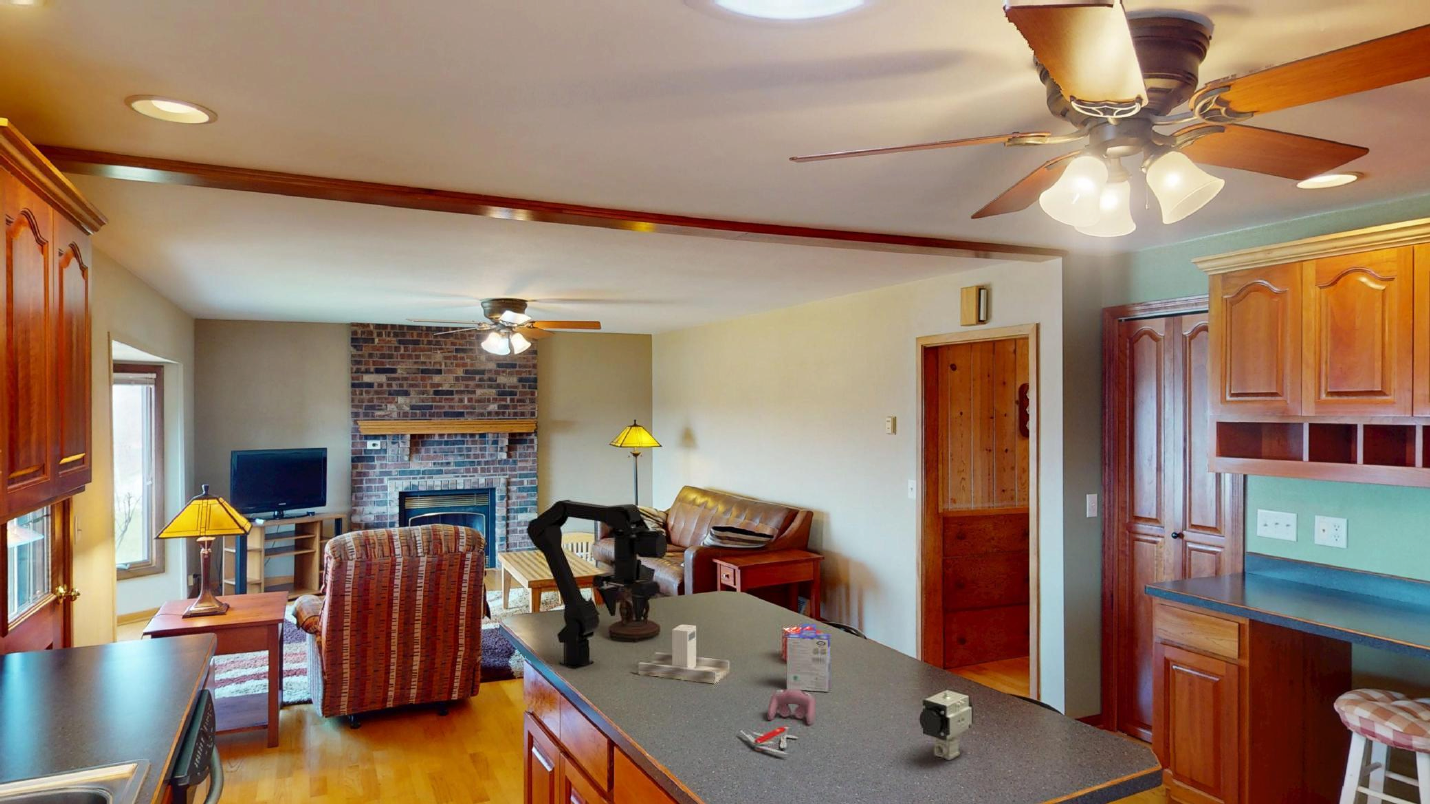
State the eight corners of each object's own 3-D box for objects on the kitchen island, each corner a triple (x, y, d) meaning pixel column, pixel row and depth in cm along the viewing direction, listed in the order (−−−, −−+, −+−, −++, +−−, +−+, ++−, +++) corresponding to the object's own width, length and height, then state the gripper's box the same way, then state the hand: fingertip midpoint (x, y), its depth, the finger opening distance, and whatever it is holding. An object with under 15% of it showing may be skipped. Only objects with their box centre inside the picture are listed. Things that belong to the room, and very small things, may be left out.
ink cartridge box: (830, 685, 197) (830, 623, 197) (829, 693, 192) (829, 629, 192) (788, 682, 199) (788, 621, 199) (786, 690, 194) (786, 627, 194)
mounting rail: (638, 674, 205) (638, 663, 205) (655, 663, 214) (655, 652, 214) (714, 684, 197) (714, 672, 198) (729, 672, 207) (729, 660, 207)
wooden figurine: (632, 626, 250) (632, 559, 250) (670, 634, 241) (670, 565, 242) (597, 637, 238) (597, 567, 238) (637, 646, 229) (637, 573, 230)
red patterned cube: (809, 655, 221) (809, 625, 221) (823, 664, 214) (823, 633, 214) (781, 658, 218) (781, 628, 219) (794, 667, 211) (794, 636, 211)
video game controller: (815, 727, 175) (818, 693, 178) (812, 725, 171) (815, 689, 174) (769, 722, 178) (773, 688, 181) (765, 719, 174) (768, 684, 177)
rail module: (672, 670, 204) (672, 629, 204) (681, 664, 209) (681, 624, 209) (687, 672, 202) (687, 631, 203) (696, 666, 208) (696, 625, 208)
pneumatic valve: (918, 761, 155) (918, 695, 155) (952, 743, 163) (952, 681, 163) (944, 770, 150) (944, 703, 151) (978, 752, 159) (978, 688, 159)
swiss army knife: (762, 726, 172) (762, 716, 172) (819, 742, 164) (819, 731, 164) (727, 743, 163) (727, 733, 163) (785, 761, 155) (785, 750, 155)
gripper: (675, 555, 207) (675, 619, 207) (623, 547, 220) (623, 607, 220) (642, 561, 199) (642, 627, 199) (591, 553, 211) (591, 615, 211)
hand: (625, 618), depth 207 cm, fingers open, 9 cm apart
